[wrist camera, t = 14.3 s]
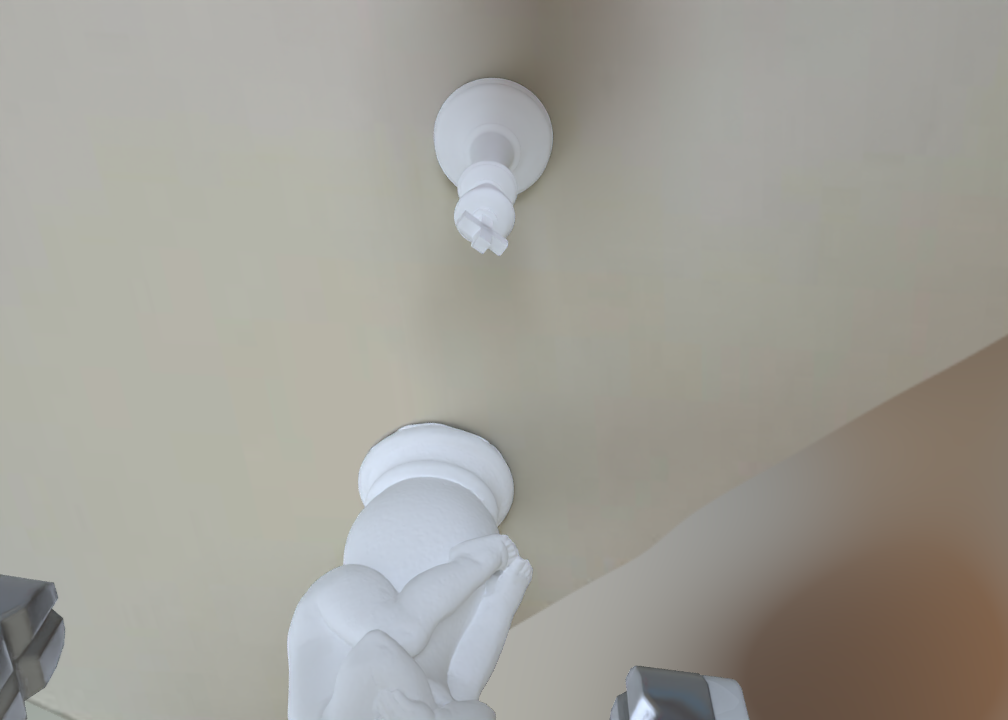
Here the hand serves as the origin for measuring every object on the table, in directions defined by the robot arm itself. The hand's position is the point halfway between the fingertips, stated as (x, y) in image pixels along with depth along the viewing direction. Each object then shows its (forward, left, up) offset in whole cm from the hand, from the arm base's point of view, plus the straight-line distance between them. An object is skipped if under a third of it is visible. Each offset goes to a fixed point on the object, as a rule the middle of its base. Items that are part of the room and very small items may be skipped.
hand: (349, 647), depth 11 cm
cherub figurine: (+7, +21, -25) cm, 33 cm away
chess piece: (-1, +1, -25) cm, 25 cm away
